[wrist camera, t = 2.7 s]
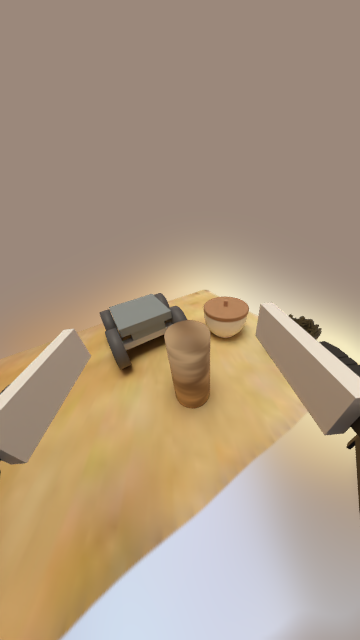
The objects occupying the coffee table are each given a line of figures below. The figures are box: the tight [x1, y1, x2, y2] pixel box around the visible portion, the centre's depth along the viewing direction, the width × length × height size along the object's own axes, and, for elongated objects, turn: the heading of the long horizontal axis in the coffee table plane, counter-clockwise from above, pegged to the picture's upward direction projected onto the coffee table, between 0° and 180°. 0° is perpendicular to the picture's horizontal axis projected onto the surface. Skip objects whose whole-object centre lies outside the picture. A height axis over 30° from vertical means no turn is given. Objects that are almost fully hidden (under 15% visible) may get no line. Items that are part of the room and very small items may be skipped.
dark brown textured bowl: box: [289, 314, 321, 339], centre depth 32 cm, size 8×7×8 cm
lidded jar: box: [204, 297, 249, 338], centre depth 41 cm, size 11×11×9 cm
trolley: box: [100, 293, 187, 370], centre depth 41 cm, size 17×19×10 cm
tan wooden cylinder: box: [164, 320, 210, 408], centre depth 26 cm, size 6×6×14 cm
